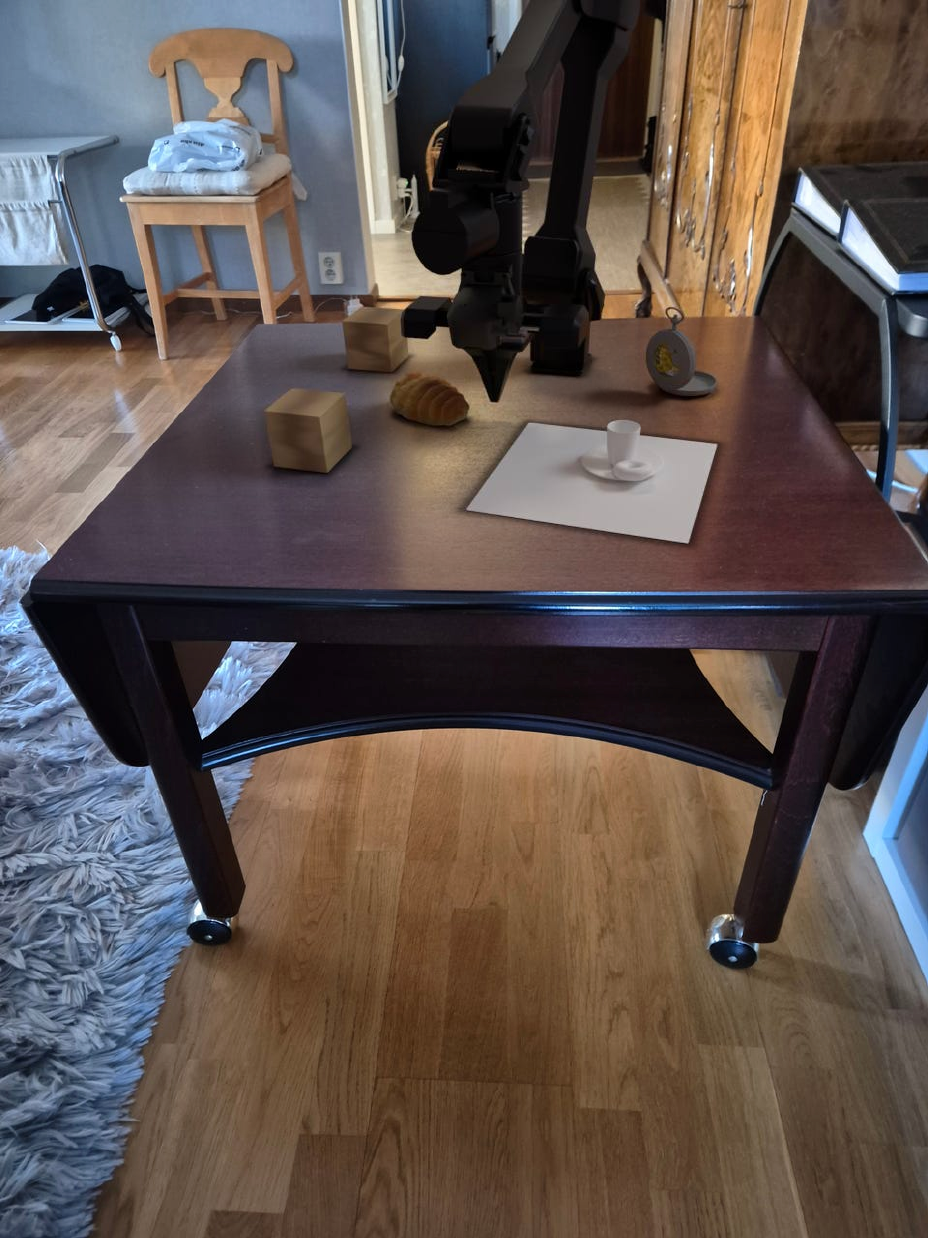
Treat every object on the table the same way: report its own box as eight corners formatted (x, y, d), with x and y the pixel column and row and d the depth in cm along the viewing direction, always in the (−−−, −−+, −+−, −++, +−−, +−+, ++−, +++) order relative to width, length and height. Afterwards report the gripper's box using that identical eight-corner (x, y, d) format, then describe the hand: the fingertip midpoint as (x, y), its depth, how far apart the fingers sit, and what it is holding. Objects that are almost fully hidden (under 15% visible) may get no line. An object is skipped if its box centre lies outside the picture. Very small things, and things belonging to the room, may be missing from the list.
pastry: (484, 416, 94) (483, 383, 91) (440, 436, 90) (438, 402, 88) (427, 394, 99) (425, 363, 97) (383, 413, 95) (380, 380, 93)
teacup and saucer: (653, 493, 78) (658, 453, 76) (569, 482, 80) (571, 442, 78) (669, 453, 85) (673, 414, 82) (591, 443, 87) (593, 406, 85)
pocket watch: (719, 380, 99) (732, 292, 93) (711, 407, 93) (724, 316, 87) (649, 374, 102) (657, 288, 96) (637, 400, 96) (645, 310, 89)
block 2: (408, 356, 110) (405, 309, 106) (391, 372, 105) (387, 324, 102) (366, 352, 112) (361, 306, 108) (347, 368, 107) (341, 320, 103)
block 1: (352, 447, 88) (345, 392, 85) (327, 473, 84) (319, 416, 80) (300, 441, 90) (291, 387, 86) (273, 466, 86) (263, 410, 82)
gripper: (373, 266, 79) (388, 423, 88) (569, 275, 74) (563, 440, 83) (414, 237, 87) (424, 383, 97) (593, 244, 82) (585, 397, 92)
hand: (495, 401), depth 92 cm, fingers closed
